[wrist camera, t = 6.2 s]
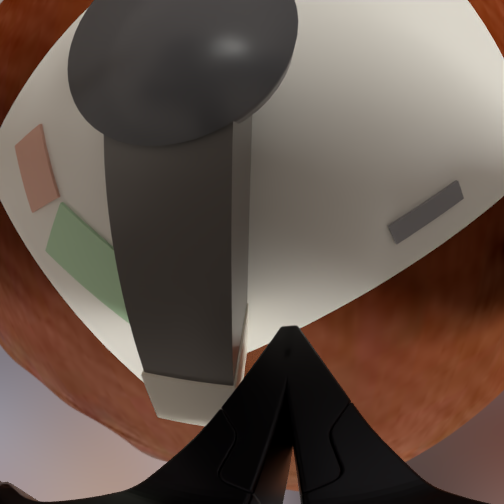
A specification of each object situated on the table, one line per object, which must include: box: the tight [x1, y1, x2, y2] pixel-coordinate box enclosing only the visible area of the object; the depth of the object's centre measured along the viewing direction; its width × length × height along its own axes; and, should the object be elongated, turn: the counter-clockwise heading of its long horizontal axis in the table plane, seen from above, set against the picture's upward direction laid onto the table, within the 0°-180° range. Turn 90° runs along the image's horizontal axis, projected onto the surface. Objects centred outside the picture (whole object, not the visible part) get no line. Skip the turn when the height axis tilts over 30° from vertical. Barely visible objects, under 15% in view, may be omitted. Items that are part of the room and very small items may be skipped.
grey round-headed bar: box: [67, 0, 298, 426], centre depth 6 cm, size 11×4×4 cm, turn 178°
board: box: [0, 0, 504, 382], centre depth 7 cm, size 15×22×1 cm
